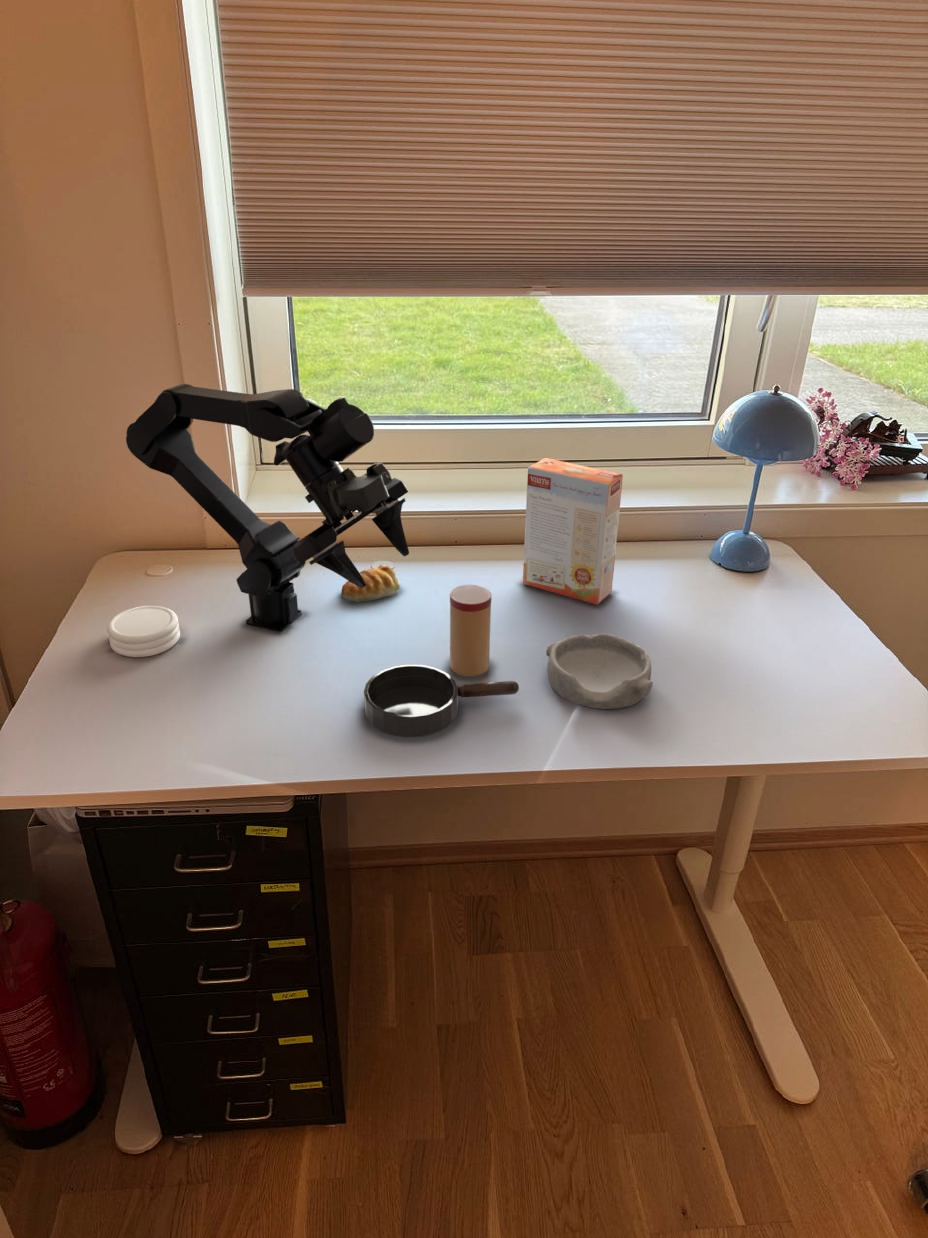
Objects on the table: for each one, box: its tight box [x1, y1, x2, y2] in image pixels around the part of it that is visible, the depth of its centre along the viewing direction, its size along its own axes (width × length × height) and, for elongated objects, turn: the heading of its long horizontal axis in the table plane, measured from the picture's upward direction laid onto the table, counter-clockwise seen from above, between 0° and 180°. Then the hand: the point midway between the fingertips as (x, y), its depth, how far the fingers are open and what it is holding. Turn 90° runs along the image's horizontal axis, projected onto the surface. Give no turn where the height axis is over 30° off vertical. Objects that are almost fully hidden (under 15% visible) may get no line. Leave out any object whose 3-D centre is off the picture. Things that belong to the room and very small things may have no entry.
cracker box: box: [522, 457, 624, 606], centre depth 149 cm, size 14×6×21 cm, turn 58°
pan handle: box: [457, 680, 520, 699], centre depth 123 cm, size 8×2×2 cm, turn 98°
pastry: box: [340, 564, 401, 603], centre depth 151 cm, size 9×7×4 cm
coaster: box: [106, 605, 181, 658], centre depth 137 cm, size 10×10×4 cm
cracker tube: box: [449, 584, 493, 677], centre depth 130 cm, size 6×6×12 cm
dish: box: [545, 632, 654, 710], centre depth 128 cm, size 14×14×5 cm
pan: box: [363, 664, 459, 738], centre depth 123 cm, size 12×12×4 cm
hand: (385, 570), depth 130 cm, fingers open, 9 cm apart
